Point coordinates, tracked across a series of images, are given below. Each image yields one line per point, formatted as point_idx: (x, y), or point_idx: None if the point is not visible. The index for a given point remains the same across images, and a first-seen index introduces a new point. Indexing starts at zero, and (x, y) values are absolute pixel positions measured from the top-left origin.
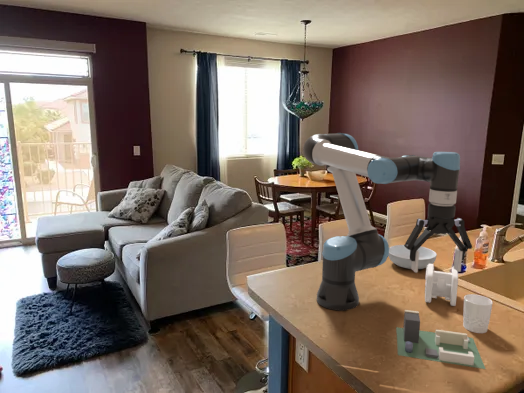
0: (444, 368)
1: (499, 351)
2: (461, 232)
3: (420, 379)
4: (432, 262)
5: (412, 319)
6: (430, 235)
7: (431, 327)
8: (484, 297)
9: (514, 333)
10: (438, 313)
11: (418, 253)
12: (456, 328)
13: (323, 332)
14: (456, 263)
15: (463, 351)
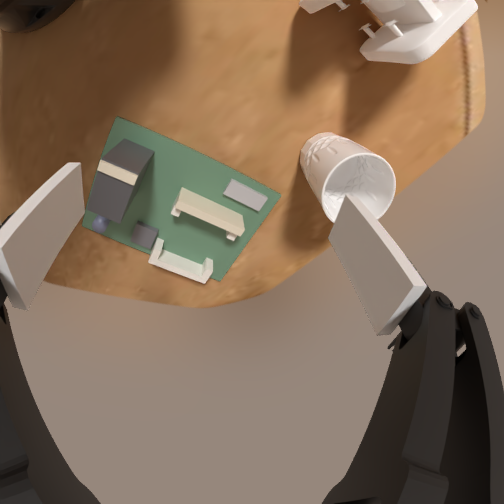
0: (151, 265)
1: (295, 241)
2: (447, 459)
3: (102, 279)
4: None
5: (103, 211)
6: (75, 485)
7: (217, 123)
8: (392, 182)
9: None
10: (296, 60)
11: (28, 300)
12: (282, 143)
13: None
14: (352, 241)
15: (218, 235)
